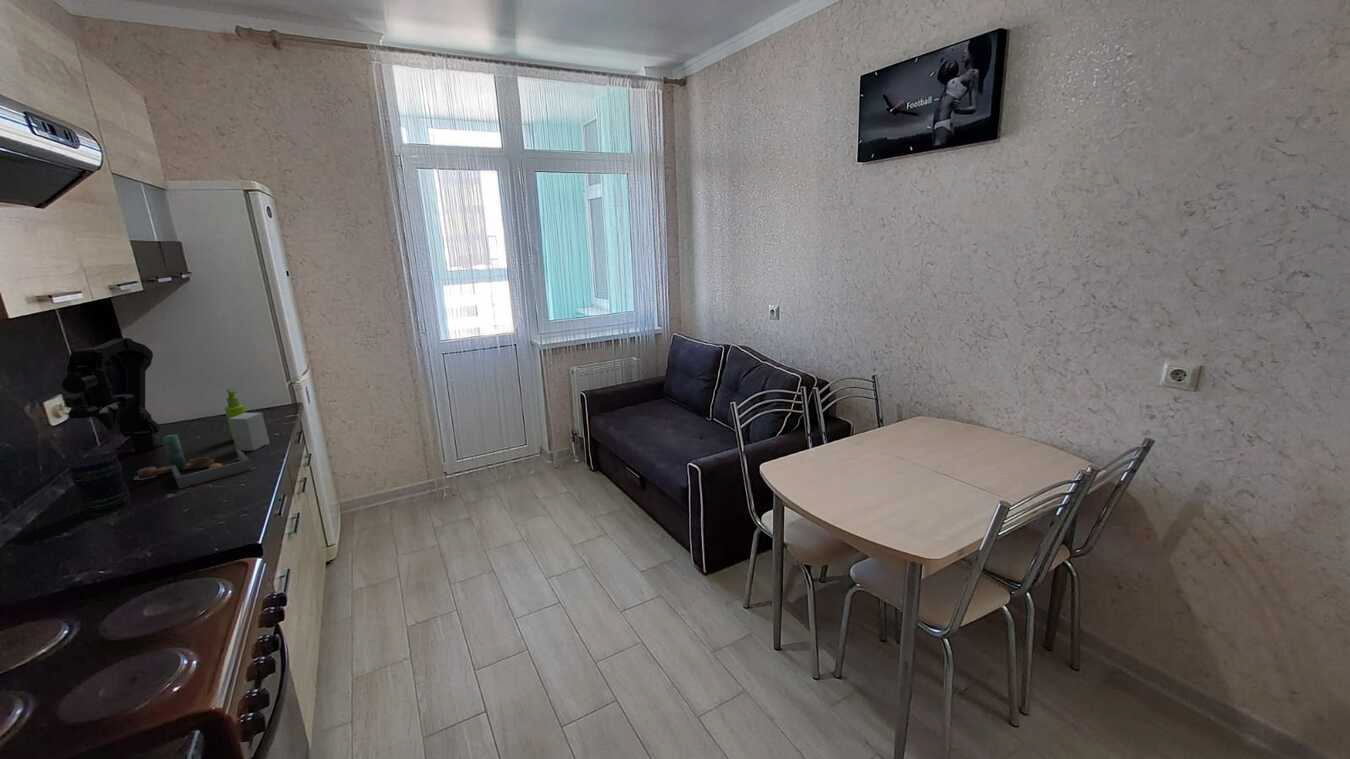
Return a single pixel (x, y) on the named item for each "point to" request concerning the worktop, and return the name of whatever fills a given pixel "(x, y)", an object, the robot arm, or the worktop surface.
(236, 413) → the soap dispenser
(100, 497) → the storage jar
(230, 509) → the worktop surface
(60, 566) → the worktop surface
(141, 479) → the pivot base
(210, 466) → the ball
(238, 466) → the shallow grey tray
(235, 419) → the supplement box
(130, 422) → the robot arm
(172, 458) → the lever
